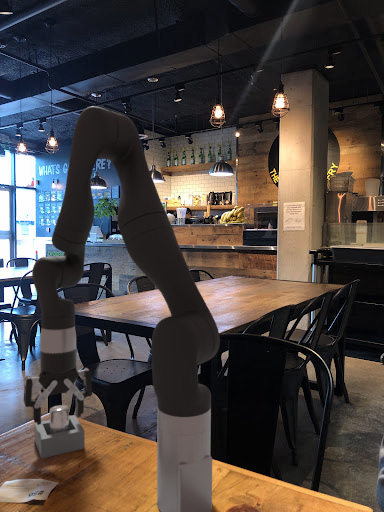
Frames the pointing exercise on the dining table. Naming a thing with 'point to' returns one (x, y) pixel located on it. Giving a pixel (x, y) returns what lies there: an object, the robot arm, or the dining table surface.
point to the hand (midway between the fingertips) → (58, 419)
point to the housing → (59, 438)
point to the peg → (59, 419)
